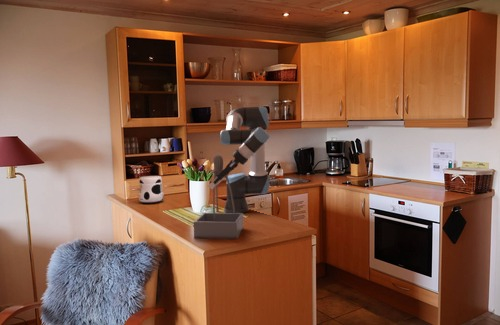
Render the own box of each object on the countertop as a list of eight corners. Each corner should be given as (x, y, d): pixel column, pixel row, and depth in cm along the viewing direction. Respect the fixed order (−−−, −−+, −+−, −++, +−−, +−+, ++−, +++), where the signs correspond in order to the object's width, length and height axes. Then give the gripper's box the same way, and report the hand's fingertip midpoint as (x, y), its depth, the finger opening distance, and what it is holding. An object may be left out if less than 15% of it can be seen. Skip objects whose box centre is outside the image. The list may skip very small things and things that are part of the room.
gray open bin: (204, 227, 223) (203, 212, 222) (243, 228, 220) (242, 213, 219) (194, 238, 203) (193, 221, 202) (237, 239, 200) (236, 222, 200)
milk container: (135, 202, 299) (133, 177, 297) (157, 199, 309) (156, 174, 307) (145, 205, 285) (143, 179, 283) (168, 202, 295) (167, 177, 294)
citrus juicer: (235, 214, 210) (231, 154, 206) (222, 219, 202) (218, 157, 198) (217, 211, 217) (213, 154, 212) (205, 216, 209) (200, 156, 204)
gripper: (245, 161, 195) (212, 195, 198) (251, 157, 216) (221, 188, 220) (233, 150, 195) (201, 184, 199) (241, 147, 216) (211, 178, 220)
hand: (212, 186), depth 209 cm, fingers closed on citrus juicer, 9 cm apart
